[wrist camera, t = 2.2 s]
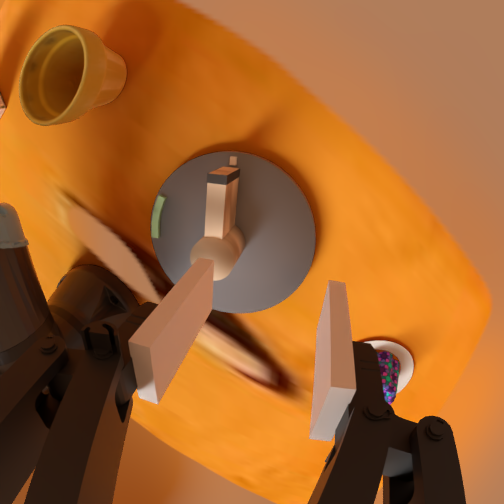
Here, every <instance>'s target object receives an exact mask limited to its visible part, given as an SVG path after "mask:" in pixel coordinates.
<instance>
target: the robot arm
mask: <svg viewBox="0 0 504 504" xmlns="http://www.w3.org/2000/svg"><path fill="white" fill-rule="evenodd" d="M27 245H29V243H28V240H27V239H26V238H25V236H24V233H23V230H22V227H21V223H20V220H19V217H18V214H17V212H16V210H15V209H14V207H12V206H11V205H9V204H7V203H0V504H12V503H13V501H14V500H15V498H16V496H17V495H18V493H19V492H20V490H21V488H22V487H23V485H24V484H25V482H26V481H27V479H28V478H29V476H30V474H31V473H32V472H33V470H34V469H35V471H34V474H33V477H32V480H31V483H30V486H29V489H28V492H27V496H26V499H25V502H24V504H112V501H113V496H114V490H115V484H116V479H117V474H118V469H119V464H120V459H121V455H122V450H123V445H124V441H125V436H126V432H127V427H128V423H129V419H130V415H131V411H132V406H133V399H132V395H133V393H134V392H135V390H136V389H137V391H138V395H139V398H141V399H144V400H147V401H150V402H153V403H156V404H158V403H159V402H160V400H161V398H162V396H163V395H164V393H165V391H166V389H167V387H168V386H169V384H170V382H171V380H172V379H173V377H174V375H175V373H176V372H177V370H178V368H179V366H180V365H181V363H182V361H183V359H184V357H185V356H186V354H187V352H188V350H189V349H190V347H191V345H192V343H193V342H194V340H195V338H196V336H197V335H198V333H199V331H200V329H201V328H202V326H203V324H204V322H205V321H206V319H207V317H208V315H209V314H210V312H211V310H212V298H213V276H214V260H210V259H205V258H198V259H197V260H196V261H195V263H194V264H193V265H192V266H191V267H190V268H189V269H188V271H187V272H186V273H185V274H184V275H183V276H182V278H181V279H180V280H179V281H178V282H177V283H176V285H175V286H174V287H173V288H172V289H171V290H170V292H169V293H168V294H167V295H166V296H165V297H164V299H163V300H162V301H161V302H160V303H159V304H155V303H151V302H146V303H144V304H142V305H140V306H139V304H138V302H137V301H136V299H135V297H134V296H133V294H132V293H131V292H130V290H129V289H128V288H127V287H126V286H125V285H124V283H123V282H122V281H120V280H119V279H118V278H117V277H116V276H114V275H113V274H112V273H110V272H109V271H107V270H105V269H103V268H101V267H98V266H94V265H80V266H77V267H75V268H74V269H72V270H71V271H69V272H68V273H67V274H65V275H64V276H63V277H62V279H61V280H60V282H59V283H58V286H57V289H56V290H55V292H54V293H53V294H52V296H51V297H50V299H49V300H48V302H47V301H46V299H45V296H44V293H43V291H42V288H41V285H40V283H39V280H38V277H37V274H36V271H35V268H34V265H33V262H32V259H31V256H30V253H29V250H28V246H27ZM334 434H335V445H334V446H333V448H332V450H331V452H330V453H329V455H328V457H327V459H326V460H325V462H326V464H325V466H324V469H323V471H322V473H321V476H320V478H319V480H318V482H317V485H316V487H315V489H314V491H313V493H312V495H311V497H310V500H309V502H308V504H374V501H375V498H376V494H377V491H378V488H379V484H380V480H381V477H382V475H383V504H466V501H465V493H464V487H463V481H462V475H461V469H460V464H459V459H458V454H457V449H456V445H455V441H454V436H453V432H452V429H451V427H450V425H449V424H448V423H447V422H446V421H445V420H443V419H441V418H440V417H436V416H427V417H424V418H423V419H421V420H420V421H419V422H418V423H415V422H412V421H409V420H406V419H403V418H400V417H398V416H397V415H395V414H394V410H393V408H392V407H391V405H390V404H388V403H387V402H386V401H385V397H384V390H383V384H382V378H381V372H380V366H379V360H378V355H377V352H376V350H375V349H374V348H373V346H372V345H371V344H370V343H363V342H355V341H352V335H351V325H350V317H349V308H348V301H347V293H346V286H345V283H343V282H337V281H331V280H329V282H328V286H327V290H326V295H325V299H324V303H323V307H322V311H321V315H320V319H319V323H318V327H317V339H316V358H315V374H314V389H313V401H312V413H311V424H310V435H309V439H315V440H324V441H331V440H332V438H333V436H334ZM35 467H36V468H35Z"/></svg>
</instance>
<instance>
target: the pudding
mask: <svg viewBox="0 0 504 504" xmlns="http://www.w3.org/2000/svg"><path fill="white" fill-rule="evenodd" d="M363 343H370V344H371V345H372V346H373V348H374V349H380V350H385V351H383V352H380V353H378V352H377V355H378V360H379V366H380V372H381V378H382V384H383V390H384V397H385V401H386V402H387V403H388V404H391V403H392V402H393V401H394V399H395V397H396V394H397V393H398V392H400V391H401V390H402V389H403V388H404V387H405V386H406V385H407V383H408V382H409V380H410V379H411V377H412V374H413V370H414V362H413V359H412V356H411V354H410V353H409V351H407V350H406V349H405V348H404V347H403V346H401V345H399V344H397V343H394V342H390V341H384V340H375V341H367V342H363ZM386 351H388V352H386ZM389 352H391V353H392V354H394V355H395V356H396V357H397V358H398V359H399V361H400V363H399V362H398V360H394V359H393V355H392V354H391V353H389ZM400 365H401V370H400V374H399V368H400Z"/></svg>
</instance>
